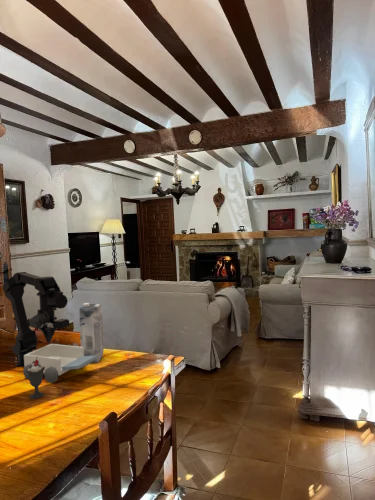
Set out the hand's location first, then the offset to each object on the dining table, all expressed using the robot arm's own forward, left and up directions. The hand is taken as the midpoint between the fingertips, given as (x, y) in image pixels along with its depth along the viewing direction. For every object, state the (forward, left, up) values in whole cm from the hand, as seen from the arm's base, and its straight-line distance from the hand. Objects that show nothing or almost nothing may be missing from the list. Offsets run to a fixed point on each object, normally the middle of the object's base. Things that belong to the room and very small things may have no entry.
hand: (48, 342), depth 154 cm
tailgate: (+12, 0, -8) cm, 15 cm away
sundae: (+12, -20, -13) cm, 27 cm away
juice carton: (+9, +18, -13) cm, 24 cm away
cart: (+3, 0, -13) cm, 13 cm away
